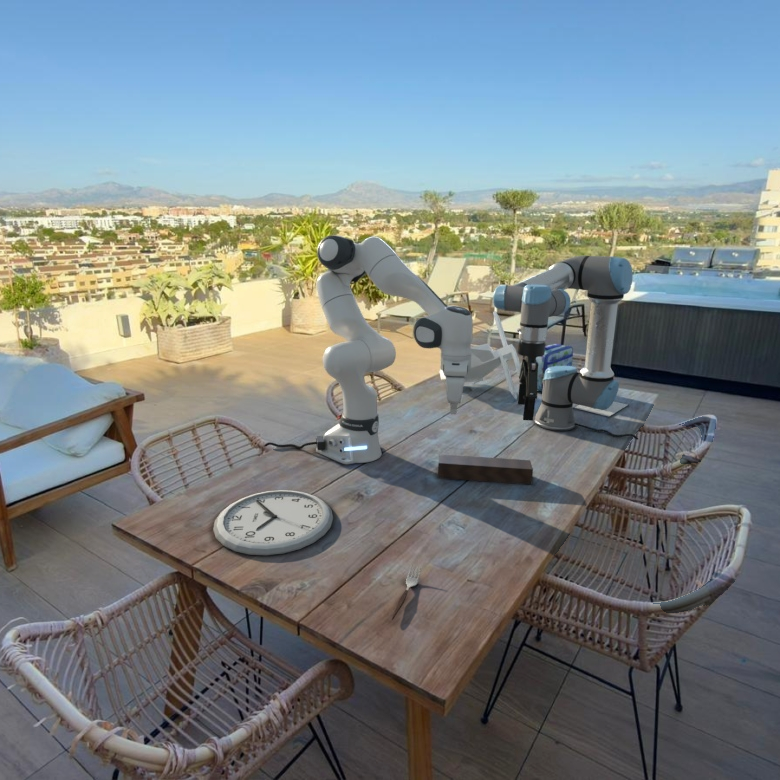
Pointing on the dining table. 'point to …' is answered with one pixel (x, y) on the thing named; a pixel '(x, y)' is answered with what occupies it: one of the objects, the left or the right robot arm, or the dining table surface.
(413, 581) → the fork
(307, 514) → the wall clock
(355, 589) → the dining table surface
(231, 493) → the dining table surface
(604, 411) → the invitation card
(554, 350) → the lunch box
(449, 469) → the walnut beam
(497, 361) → the white plastic object
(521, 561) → the dining table surface
